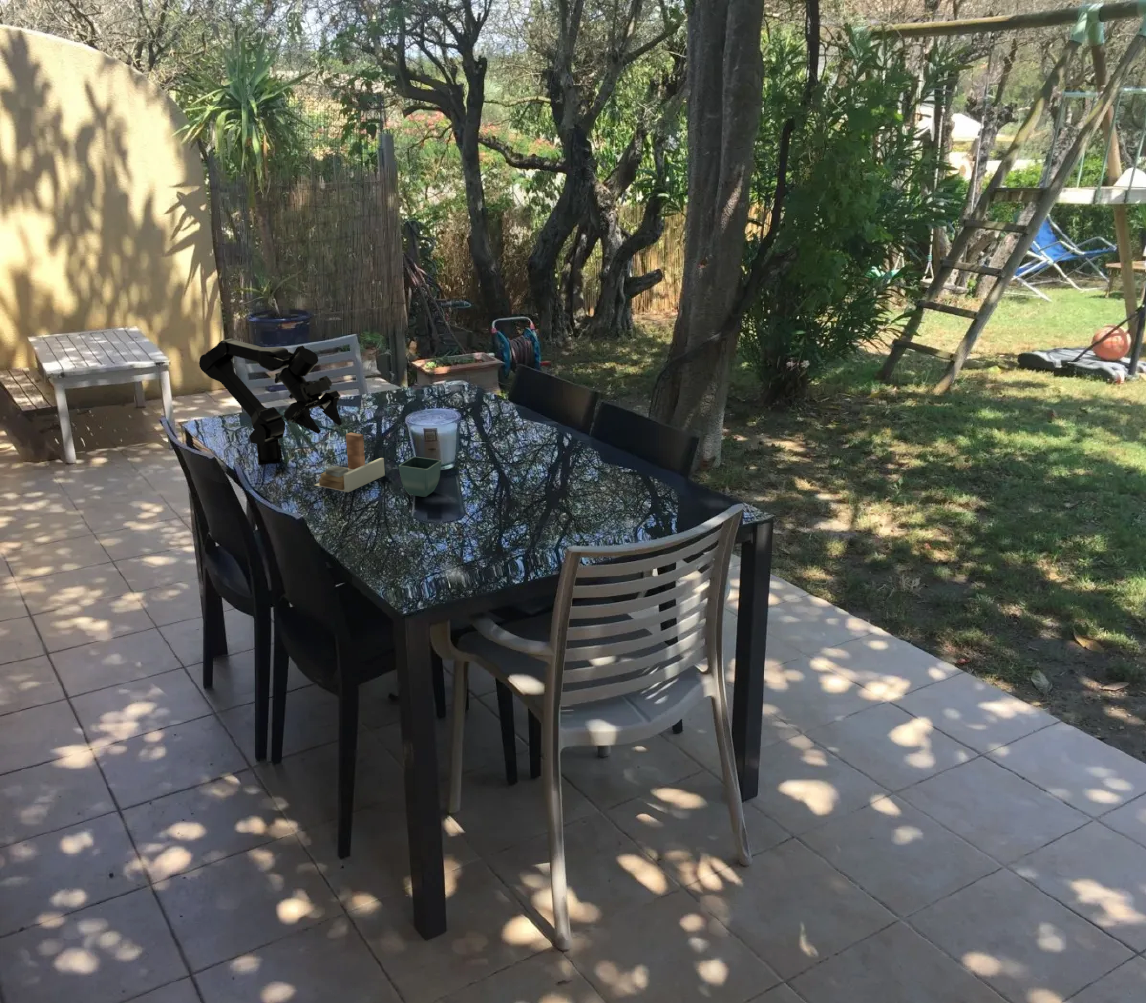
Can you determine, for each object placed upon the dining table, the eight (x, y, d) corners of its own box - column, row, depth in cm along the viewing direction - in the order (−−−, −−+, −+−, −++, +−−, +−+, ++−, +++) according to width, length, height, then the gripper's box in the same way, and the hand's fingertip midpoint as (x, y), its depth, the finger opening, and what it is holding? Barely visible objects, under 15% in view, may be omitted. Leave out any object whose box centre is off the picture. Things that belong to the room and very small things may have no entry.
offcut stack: (319, 485, 273) (317, 468, 271) (332, 479, 277) (330, 463, 276) (342, 490, 269) (340, 473, 268) (354, 484, 274) (353, 467, 272)
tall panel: (348, 474, 281) (345, 434, 277) (353, 472, 283) (350, 432, 279) (361, 477, 279) (358, 436, 275) (365, 475, 281) (363, 434, 277)
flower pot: (443, 490, 273) (442, 459, 270) (428, 501, 265) (427, 469, 262) (414, 486, 276) (413, 456, 272) (399, 497, 268) (397, 465, 265)
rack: (314, 488, 273) (312, 467, 271) (351, 471, 287) (350, 452, 284) (348, 495, 268) (346, 474, 266) (384, 478, 282) (383, 458, 279)
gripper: (288, 375, 269) (323, 420, 268) (333, 362, 285) (366, 405, 284) (268, 399, 275) (302, 443, 274) (313, 385, 291) (345, 427, 290)
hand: (330, 428), depth 281 cm, fingers open, 9 cm apart
